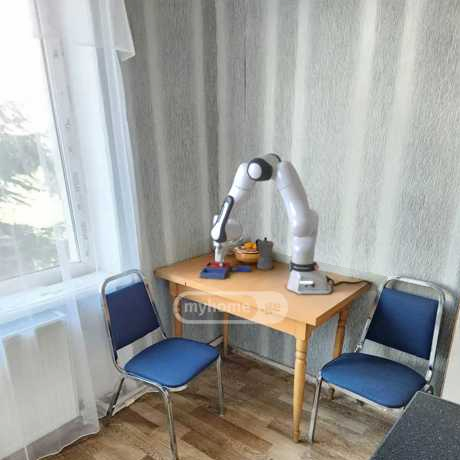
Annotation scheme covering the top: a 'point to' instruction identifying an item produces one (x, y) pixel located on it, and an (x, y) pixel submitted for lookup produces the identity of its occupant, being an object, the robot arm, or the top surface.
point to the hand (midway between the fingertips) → (221, 265)
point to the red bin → (217, 267)
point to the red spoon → (219, 265)
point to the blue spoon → (242, 268)
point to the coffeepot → (264, 253)
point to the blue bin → (213, 273)
